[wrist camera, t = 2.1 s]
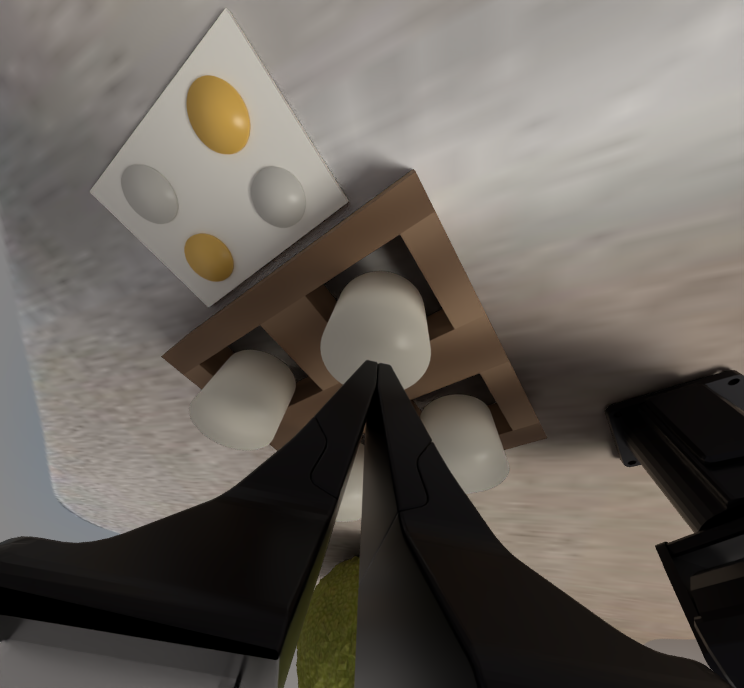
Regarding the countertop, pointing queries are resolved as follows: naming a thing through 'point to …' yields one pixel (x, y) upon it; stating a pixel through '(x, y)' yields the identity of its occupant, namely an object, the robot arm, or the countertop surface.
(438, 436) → the pale grey egg
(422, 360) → the white egg
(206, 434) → the button
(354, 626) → the fruit
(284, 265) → the board
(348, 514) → the button
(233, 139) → the card
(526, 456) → the countertop surface
